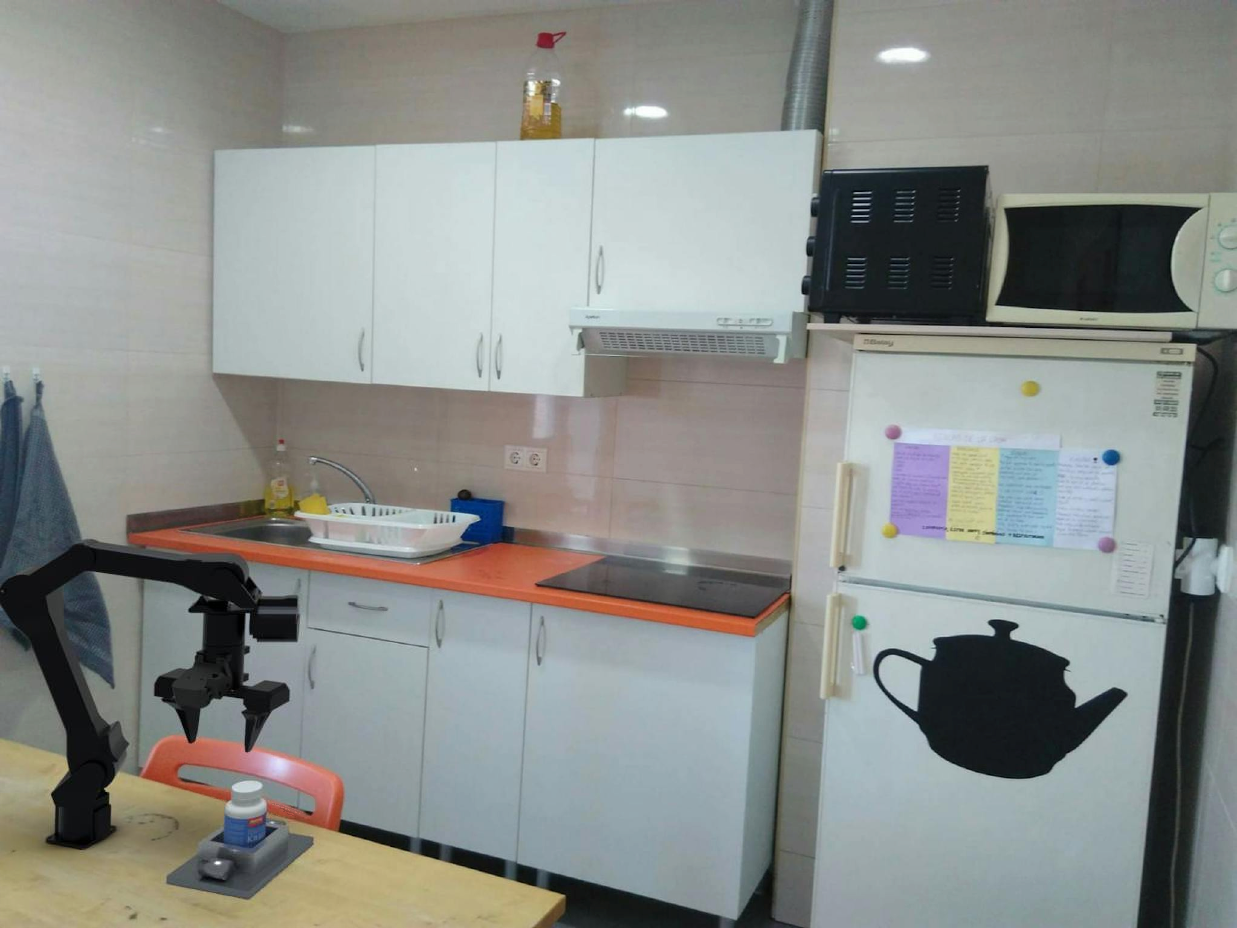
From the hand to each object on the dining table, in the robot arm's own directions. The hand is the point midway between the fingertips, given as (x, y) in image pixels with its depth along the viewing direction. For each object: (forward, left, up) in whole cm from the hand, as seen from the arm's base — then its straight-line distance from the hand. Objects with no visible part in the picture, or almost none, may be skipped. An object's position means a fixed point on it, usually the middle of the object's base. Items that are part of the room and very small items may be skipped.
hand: (219, 747), depth 141 cm
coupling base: (+9, -7, -12) cm, 17 cm away
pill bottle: (+9, -7, -12) cm, 16 cm away
